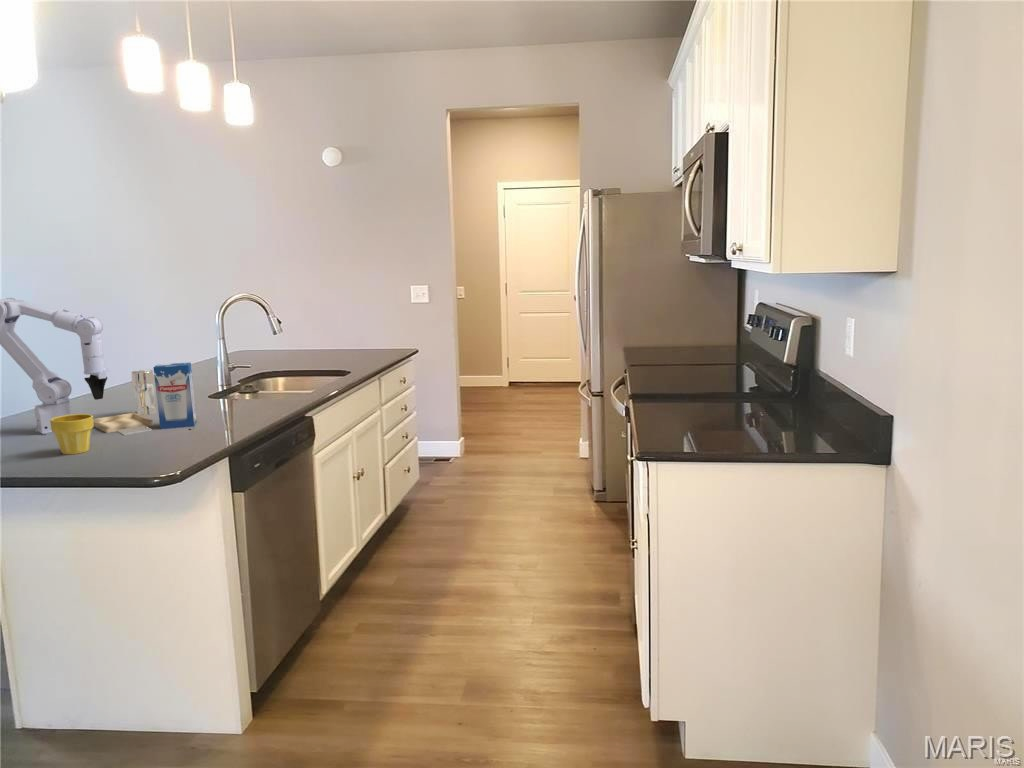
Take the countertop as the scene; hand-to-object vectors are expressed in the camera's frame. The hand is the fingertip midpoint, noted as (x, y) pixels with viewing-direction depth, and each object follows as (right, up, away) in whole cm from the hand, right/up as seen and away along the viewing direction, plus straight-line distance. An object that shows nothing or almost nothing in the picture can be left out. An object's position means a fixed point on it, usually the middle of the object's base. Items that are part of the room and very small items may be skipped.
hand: (98, 399), depth 238 cm
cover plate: (+14, -11, -6) cm, 19 cm away
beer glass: (+5, -6, +20) cm, 22 cm away
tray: (+6, -9, +3) cm, 11 cm away
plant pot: (+8, -14, -26) cm, 31 cm away
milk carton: (+26, -9, 0) cm, 27 cm away
